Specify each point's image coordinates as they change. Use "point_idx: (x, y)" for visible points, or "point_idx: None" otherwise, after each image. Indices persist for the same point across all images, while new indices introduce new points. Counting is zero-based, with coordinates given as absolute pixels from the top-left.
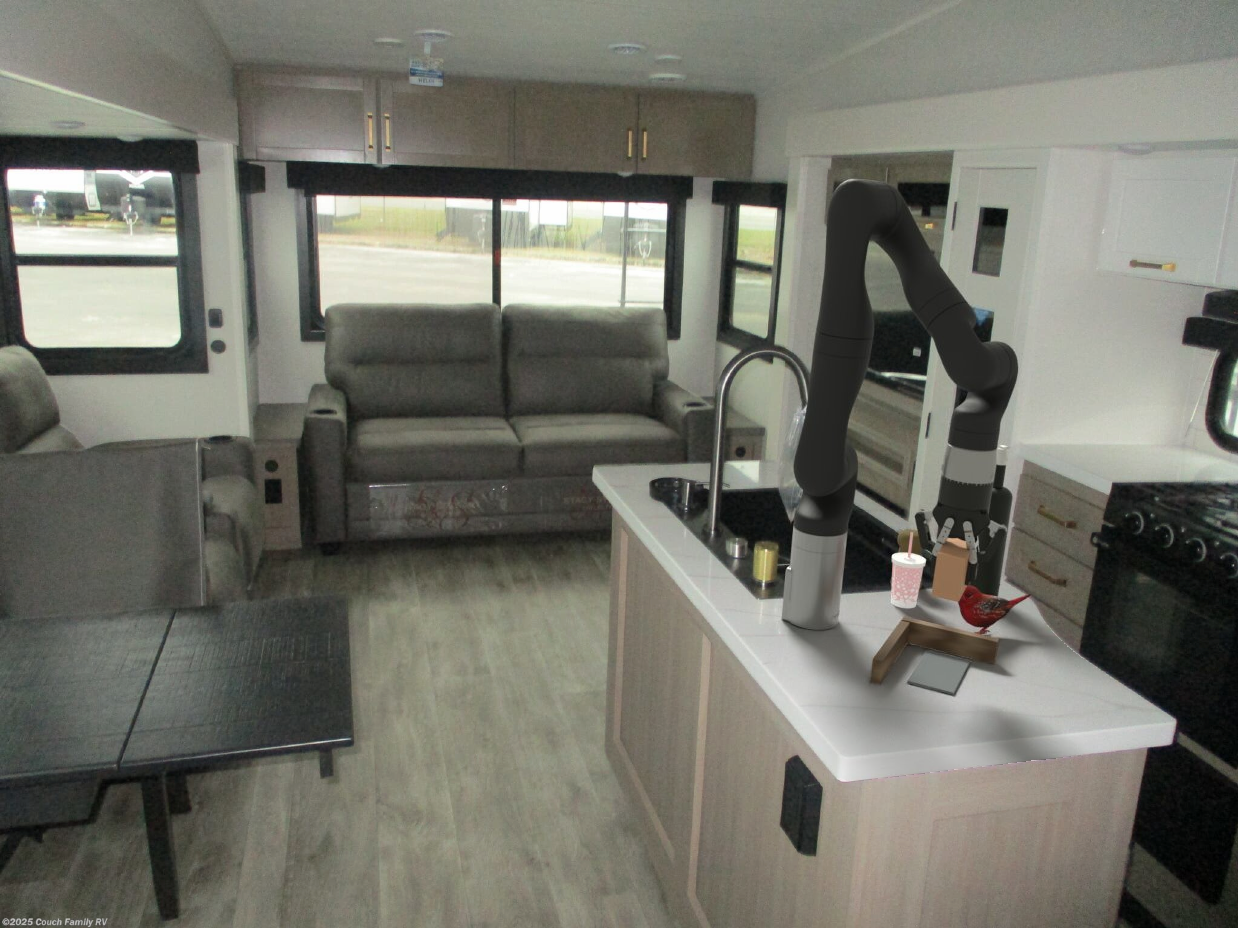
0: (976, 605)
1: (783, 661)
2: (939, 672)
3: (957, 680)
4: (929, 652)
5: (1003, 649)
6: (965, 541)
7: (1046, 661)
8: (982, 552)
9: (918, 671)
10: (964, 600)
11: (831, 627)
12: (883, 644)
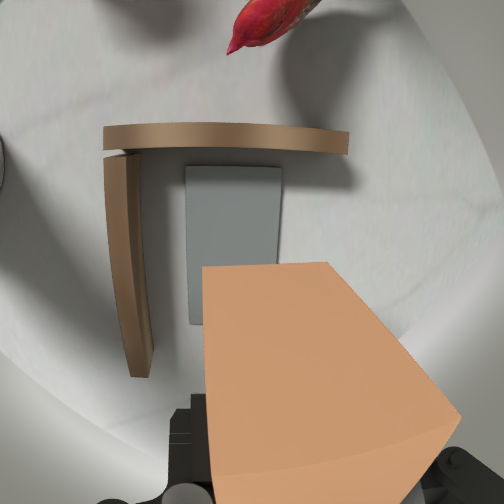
0: (288, 26)
1: (18, 345)
2: (233, 261)
3: None
4: (194, 178)
5: (334, 67)
6: (364, 501)
7: (407, 91)
8: (426, 494)
9: (196, 279)
10: (257, 43)
11: (1, 183)
12: (119, 315)
